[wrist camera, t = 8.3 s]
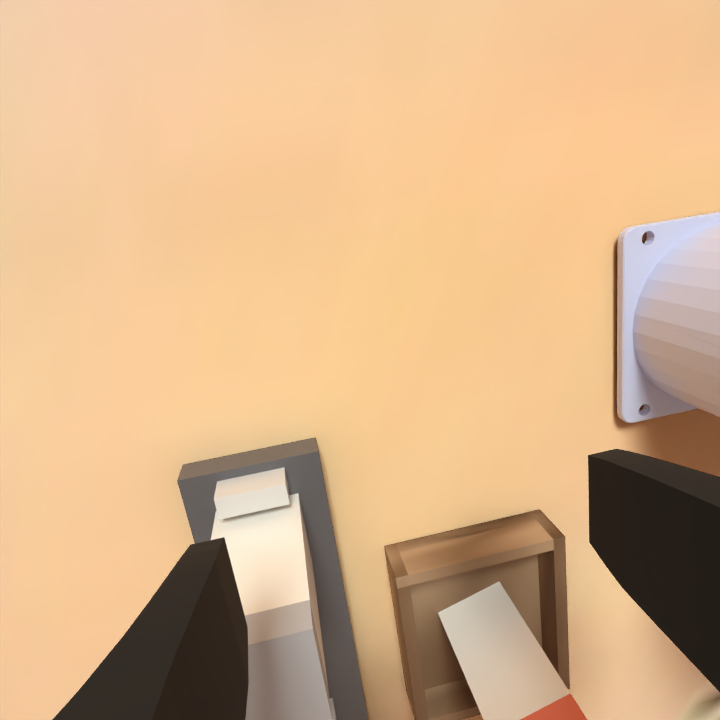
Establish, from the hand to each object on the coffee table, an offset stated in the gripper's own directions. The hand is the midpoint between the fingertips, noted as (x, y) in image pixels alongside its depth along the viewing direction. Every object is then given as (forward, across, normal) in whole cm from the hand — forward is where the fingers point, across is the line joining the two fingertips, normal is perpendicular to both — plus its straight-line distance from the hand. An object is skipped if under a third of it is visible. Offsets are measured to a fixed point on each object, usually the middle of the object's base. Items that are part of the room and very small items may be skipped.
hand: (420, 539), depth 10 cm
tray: (+10, -4, +12) cm, 16 cm away
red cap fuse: (+9, -4, +12) cm, 16 cm away
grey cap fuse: (+9, +4, +5) cm, 11 cm away
